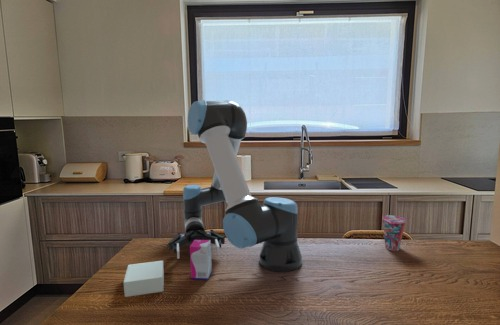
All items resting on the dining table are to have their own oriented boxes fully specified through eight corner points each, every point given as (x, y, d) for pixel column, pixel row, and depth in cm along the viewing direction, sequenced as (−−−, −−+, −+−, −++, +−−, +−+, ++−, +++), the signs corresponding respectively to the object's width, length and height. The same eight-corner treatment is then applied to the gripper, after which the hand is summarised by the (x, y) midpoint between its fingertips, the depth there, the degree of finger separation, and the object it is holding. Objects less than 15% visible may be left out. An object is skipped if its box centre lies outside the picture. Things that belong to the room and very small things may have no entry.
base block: (164, 274, 107) (163, 260, 106) (163, 292, 97) (162, 277, 96) (129, 278, 105) (128, 264, 104) (124, 297, 94) (123, 282, 93)
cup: (378, 242, 129) (379, 214, 127) (400, 243, 127) (402, 215, 125) (384, 253, 120) (386, 222, 117) (408, 254, 118) (410, 223, 116)
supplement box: (212, 271, 108) (211, 239, 106) (208, 280, 103) (207, 247, 101) (195, 270, 109) (194, 238, 107) (190, 279, 103) (189, 246, 101)
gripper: (225, 235, 132) (234, 258, 111) (163, 241, 126) (161, 267, 106) (224, 217, 131) (234, 238, 110) (162, 223, 125) (160, 246, 105)
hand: (198, 252), depth 108 cm, fingers open, 13 cm apart
